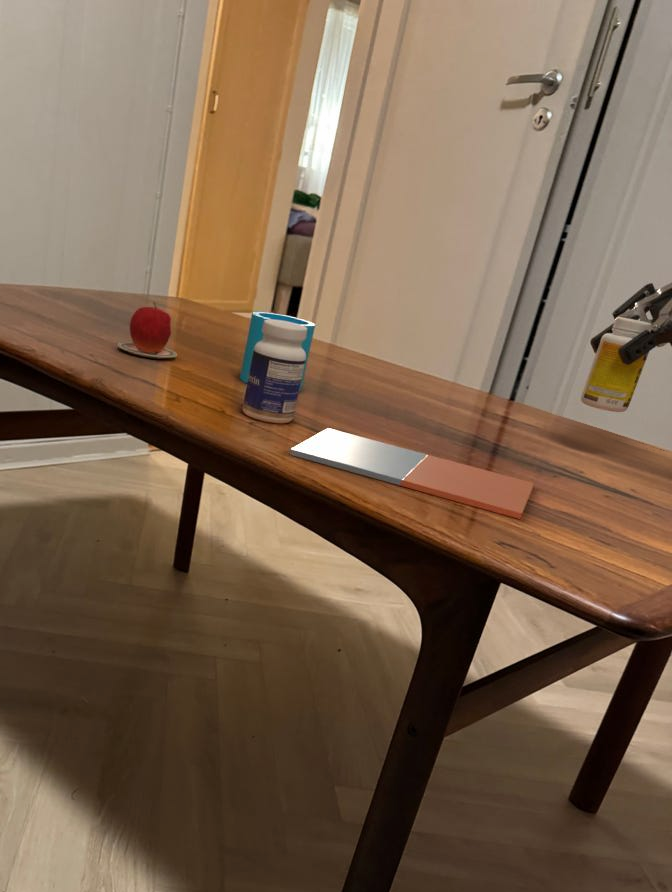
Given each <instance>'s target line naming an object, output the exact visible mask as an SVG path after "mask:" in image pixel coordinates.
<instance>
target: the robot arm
mask: <svg viewBox="0 0 672 892" xmlns="http://www.w3.org/2000/svg"><path fill="white" fill-rule="evenodd" d="M648 312H649V313H650V315H651V318H652V319H649V318H648V316H647V313H648ZM611 314H612V317H613V319H614V321H615V320H616V318H617V317H622V318H628V319H633V320H639V321H643V322H647V323H651V327H650V330H649V331H648V330H645V331H643V332H642V333H640V334H639V335H637V336H636V337H635V338H633V339H632V340H630V341H629V342H627V343H626V344H625V345H623V346H622V347H620V348H619V350H618V354H619V356H620V358H621V360H622V362H623V363H624V364H627V365H630V364H632V363H633V362H634V361H636V360H637V359H639V358H640V357H642V356H643V355H645V354H646V353H647V352H649V353H650V351H652V350H653V349H655V348H656V347H657V348H663V347H664V346H666V345H667V344H669V345H670V346H671V347H672V282H670V283H668V284H666V285H664V286H662V287H660V288H659V289H658V288H657V289H656V288H655V285H654V284H653V283H652V282H651V283H647V284H645V285H644V286H642V288H640V289H639V290H638V291H636V292H635V293H634V294H633V295H632V296H630V297H628V299H626V301H624V302H622V304H621V305H619V306H618V307H617V308H616V309H615V310H614V311H612V313H611ZM614 323H615V322H613V323H612V324H610V325H609V326H607V327H606V328H605V329H603V330H601V332H599V333H597V334H596V335H595V336H593V337H591V339H590V341H589V343H590V346H591V348H592V350H593V352H594V354H596V352H597V349H598V346H599V344H600V341H601V338H602V336H603V335H604V334H606V333H613V331H612V328H613V325H614Z"/></svg>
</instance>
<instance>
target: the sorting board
mask: <svg viewBox="0 0 672 892" xmlns="http://www.w3.org/2000/svg"><path fill="white" fill-rule="evenodd" d="M289 456H293V457H296V458H300V459H303V460H306V461H310V462H314V463H318V464H321V465H325V466H328V467H332V468H335V469H339V470H341V471H342V470H343V471H346V472H350V473H353V474H356V475H357V474H358V475H360V476H364V477H368V478H371V479H375V480H379V481H382V482H385V483H388V484H389V483H390V484H391V485H396V486H400V487H403V488H407V489H411V490H414V491H418V492H422V493H425V494H428V495H432V496H436V497H439V498H442V499H446V500H450V501H453V502H457V503H461V504H463V505H467V506H471V507H475V508H479V509H482V510H485V511H488V512H493V513H496V514H499V515H504V516H507V517H510V518H513V519H514V518H515V519H518V520H521V519H522V516H523V513H524V511H525V508H526V506H527V503H528V501H529V499H530V496H531V494H532V491H533V489H534V486H535V482H532V481H528V480H524V479H521V478H516V477H513V476H510V475H505V474H502V473H499V472H494V471H491V470H487V469H483V468H479V467H475V466H472V465H468V464H464V463H462V462H461V463H460V462H458V461H457V462H456V461H453V460H449V459H446V458H442V457H439V456H435V455H432V454H426V453H423V452H419V451H417V450H416V451H415V450H412V449H408V448H404V447H401V446H397V445H394V444H389V443H386V442H382V441H378V440H375V439H371V438H368V437H363V436H360V435H356V434H352V433H348V432H344V431H341V430H337V429H333V428H330V427H327V428H326V429H324V430H322V431H320V432H318V433H317V434H315V435H313V436H311V437H309V438H308V439H305V440H304V441H303V442H300V443H299V444H297V445H295V446H294V447H291V448H290V450H289Z"/></svg>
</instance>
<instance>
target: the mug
mask: <svg viewBox="0 0 672 892" xmlns="http://www.w3.org/2000/svg"><path fill="white" fill-rule="evenodd" d="M268 319H272V320H282V321H287V322H292V323H296V324H300V325H302V326H305V327H306V328H307V334H306V339H305V340H304V341H303V342H302V345H301V347H302V349H303V350H304V351H305V353H306V361H305V365H304V370H303V374H302V379H301V384H300V388H299V392H301V391H302V387H303V383H304V379H305V373H306V370H307V369H306V368H307V364H308V361H309V360H308V359H309V355H310V350H311V346H312V342H313V337H314V332H315V328H316V324H315V323H313V322H312V321H309V320H307V319H303V318H299V317H295V316H291V315H285V314H282V313H281V314H279V313H273V312H267V311H252V313H251V316H250V321H249V327H248V333H247V337H246V343H245V349H244V354H243V360H242V364H241V369H240V375H239V380H240V381H242V382H244V383H245V384H247V382H248V376H249V371H250V366H251V361H252V356H253V351H254V347H255V345H256V344H257V343H258V342H259V341H261V340H262V339H263V336H264V335H263V332H262V328H263V323H264V320H268Z"/></svg>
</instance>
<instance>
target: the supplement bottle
mask: <svg viewBox="0 0 672 892" xmlns="http://www.w3.org/2000/svg"><path fill="white" fill-rule="evenodd" d="M613 323H614V325H613V328H612V331H613V333H606V334H604V335H603V336H602V338H601V341H600V344H599V346H598V349H597V352H596V353H595V355H594V357H593V361H592V364H591V367H590V369H589V372H588V375H587V378H586V381H585V384H584V387H583V390H582V393H581V396H580V401H581V402H582V404H584V405H586V406H588V407H592V408H595V409H599V410H602V411H603V410H604V411H608V412H614V413H624V412H626V411H627V410H628V409H629V407H630V404H631V401H632V399H633V396H634V393H635V390H636V388H637V385H638V383H639V380H640V377H641V375H642V372H643V369H644V366H645V364H646V362H647V359H648V356H649V353H650V351H649V352H647V353H646V354H645V355H643V356H642V357H640V358H639V359H637V360H636V361H634V362H633V363H632V364H630V365H627V364H624V363H623V362H622V360H621V358H620V356H619V354H618V350H619V348H620V347H622V346H623V345H625V344H626V343H627V342H629V341H630V340H632V339H633V338H635V337H636V336H637V335H639V334H640V333H642V332H643V331H645V330H648V331H649V332H650V327H651V323H647V322H643V321H640V319H638V320H633V319H628V318H622V317H617V318H616V320H615V319H614V322H613Z"/></svg>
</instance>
